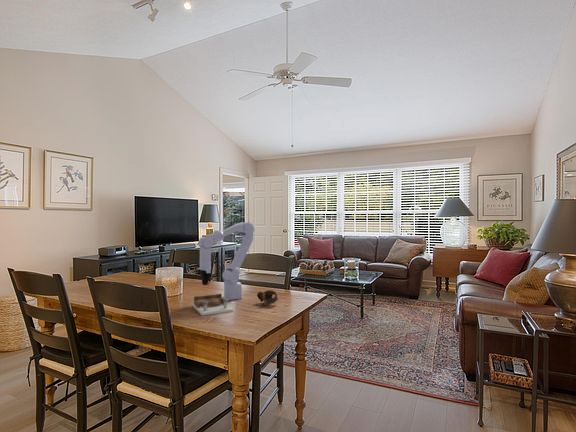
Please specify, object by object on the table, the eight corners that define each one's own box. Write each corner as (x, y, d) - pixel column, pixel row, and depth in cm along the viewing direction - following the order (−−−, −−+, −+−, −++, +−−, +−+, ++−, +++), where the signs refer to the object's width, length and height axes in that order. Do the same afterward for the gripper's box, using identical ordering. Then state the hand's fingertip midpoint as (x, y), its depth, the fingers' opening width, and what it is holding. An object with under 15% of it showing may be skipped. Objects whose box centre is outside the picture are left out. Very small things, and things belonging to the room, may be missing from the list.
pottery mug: (279, 303, 182) (281, 291, 178) (272, 315, 174) (273, 303, 170) (259, 295, 186) (260, 284, 181) (251, 307, 178) (252, 295, 174)
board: (221, 302, 179) (221, 293, 179) (232, 311, 164) (232, 300, 164) (192, 306, 172) (192, 296, 172) (201, 315, 156) (202, 304, 156)
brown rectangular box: (220, 300, 179) (220, 293, 179) (226, 304, 171) (226, 297, 171) (194, 303, 172) (194, 296, 172) (198, 307, 164) (198, 300, 164)
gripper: (194, 258, 185) (194, 282, 185) (201, 261, 172) (200, 288, 172) (207, 257, 188) (206, 281, 188) (214, 260, 175) (214, 286, 175)
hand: (205, 284), depth 180 cm, fingers closed
